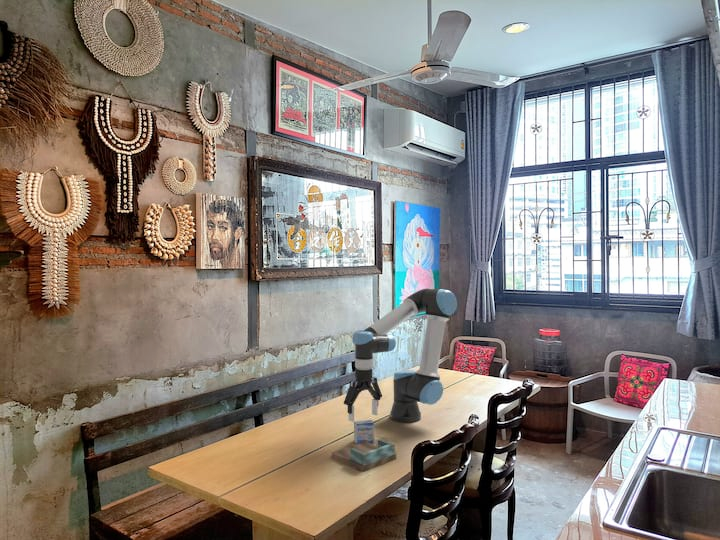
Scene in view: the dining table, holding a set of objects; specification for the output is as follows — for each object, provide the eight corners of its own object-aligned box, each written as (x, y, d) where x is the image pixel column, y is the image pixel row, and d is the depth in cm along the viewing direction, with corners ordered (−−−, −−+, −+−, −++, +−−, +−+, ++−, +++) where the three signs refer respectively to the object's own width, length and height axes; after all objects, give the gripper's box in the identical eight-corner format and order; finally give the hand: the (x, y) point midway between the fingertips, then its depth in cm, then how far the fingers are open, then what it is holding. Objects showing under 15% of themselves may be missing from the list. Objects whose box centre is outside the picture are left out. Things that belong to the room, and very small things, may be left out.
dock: (365, 445, 210) (365, 431, 210) (396, 458, 197) (396, 443, 197) (331, 457, 198) (331, 442, 198) (362, 471, 185) (362, 455, 185)
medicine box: (356, 444, 212) (356, 424, 212) (353, 440, 216) (353, 420, 216) (374, 442, 214) (374, 422, 214) (371, 439, 218) (371, 419, 218)
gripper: (378, 363, 226) (378, 410, 226) (335, 370, 209) (335, 421, 209) (390, 365, 220) (389, 414, 220) (347, 373, 203) (346, 425, 204)
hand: (363, 417), depth 215 cm, fingers open, 13 cm apart
